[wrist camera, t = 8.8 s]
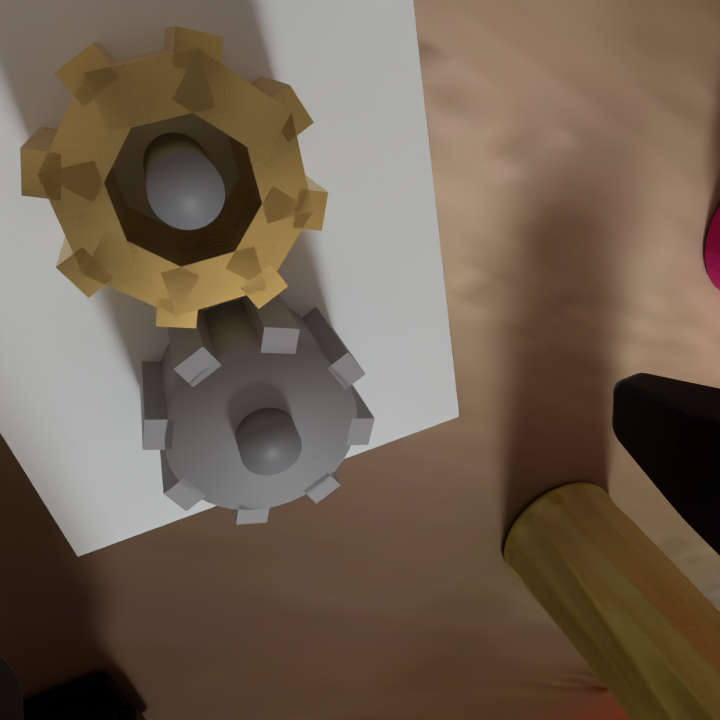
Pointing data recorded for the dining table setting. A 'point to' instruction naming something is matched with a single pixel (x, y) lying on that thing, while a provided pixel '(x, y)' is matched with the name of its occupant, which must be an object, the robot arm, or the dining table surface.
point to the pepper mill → (713, 250)
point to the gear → (145, 235)
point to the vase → (619, 603)
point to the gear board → (237, 316)
